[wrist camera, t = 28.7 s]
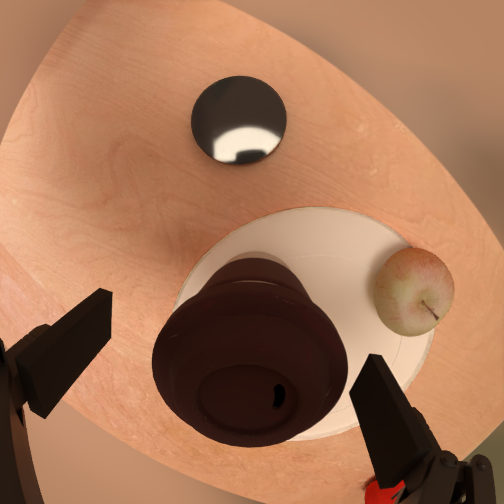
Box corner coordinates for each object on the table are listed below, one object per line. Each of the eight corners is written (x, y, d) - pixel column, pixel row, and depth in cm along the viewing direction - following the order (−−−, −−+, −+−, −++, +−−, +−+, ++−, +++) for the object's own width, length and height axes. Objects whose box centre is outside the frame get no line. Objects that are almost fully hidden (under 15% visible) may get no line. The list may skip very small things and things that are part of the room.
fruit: (432, 297, 26) (474, 331, 18) (371, 324, 27) (402, 370, 19) (420, 228, 24) (470, 247, 17) (354, 255, 25) (388, 285, 17)
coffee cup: (181, 299, 27) (113, 406, 12) (241, 211, 25) (209, 255, 10) (267, 353, 28) (268, 480, 13) (332, 276, 26) (398, 377, 11)
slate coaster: (206, 72, 22) (204, 68, 21) (295, 89, 22) (296, 87, 21) (183, 154, 24) (180, 154, 23) (273, 175, 24) (273, 175, 23)
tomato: (427, 451, 33) (444, 488, 24) (404, 485, 36) (416, 518, 27) (370, 465, 33) (383, 508, 24) (354, 497, 36) (362, 533, 27)
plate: (251, 457, 32) (251, 461, 32) (121, 289, 27) (118, 291, 26) (445, 374, 28) (448, 377, 28) (385, 155, 23) (388, 154, 22)
